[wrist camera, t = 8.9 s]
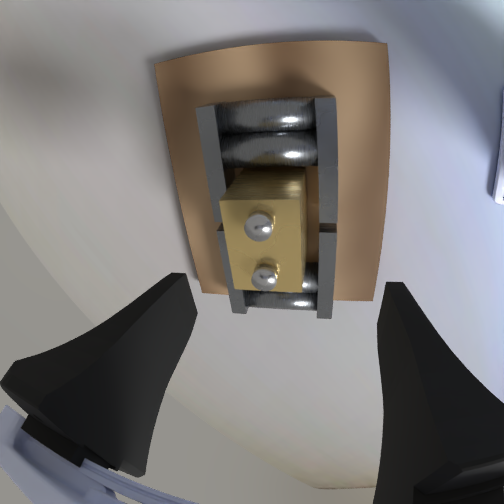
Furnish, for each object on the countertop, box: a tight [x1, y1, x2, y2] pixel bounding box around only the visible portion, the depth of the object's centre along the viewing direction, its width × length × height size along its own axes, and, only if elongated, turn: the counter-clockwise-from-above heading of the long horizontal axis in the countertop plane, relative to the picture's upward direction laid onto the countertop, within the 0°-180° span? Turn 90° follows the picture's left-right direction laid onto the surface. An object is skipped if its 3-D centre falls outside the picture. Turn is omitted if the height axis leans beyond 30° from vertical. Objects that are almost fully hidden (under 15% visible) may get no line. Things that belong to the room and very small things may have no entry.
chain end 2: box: [216, 222, 337, 319], centre depth 20 cm, size 7×7×2 cm
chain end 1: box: [195, 95, 338, 223], centre depth 16 cm, size 7×7×2 cm
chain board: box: [154, 41, 390, 301], centre depth 18 cm, size 13×17×1 cm
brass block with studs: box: [219, 166, 308, 293], centre depth 16 cm, size 4×5×6 cm
